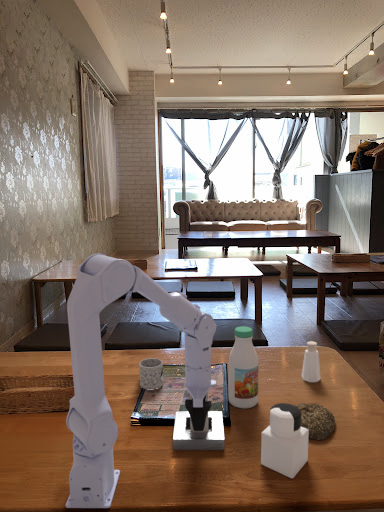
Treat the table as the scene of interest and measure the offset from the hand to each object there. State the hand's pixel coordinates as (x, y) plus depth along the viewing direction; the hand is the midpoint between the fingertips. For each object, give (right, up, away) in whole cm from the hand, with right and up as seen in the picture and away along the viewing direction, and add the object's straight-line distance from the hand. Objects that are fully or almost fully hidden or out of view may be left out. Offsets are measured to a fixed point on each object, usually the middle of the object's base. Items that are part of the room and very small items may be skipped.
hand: (198, 420), depth 93 cm
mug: (-14, 0, +26) cm, 30 cm away
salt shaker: (+33, +1, +27) cm, 43 cm away
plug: (0, -3, +1) cm, 3 cm away
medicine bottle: (+17, -5, -9) cm, 20 cm away
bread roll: (+26, -3, +5) cm, 27 cm away
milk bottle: (+12, -1, +15) cm, 19 cm away
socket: (0, -4, +1) cm, 4 cm away
